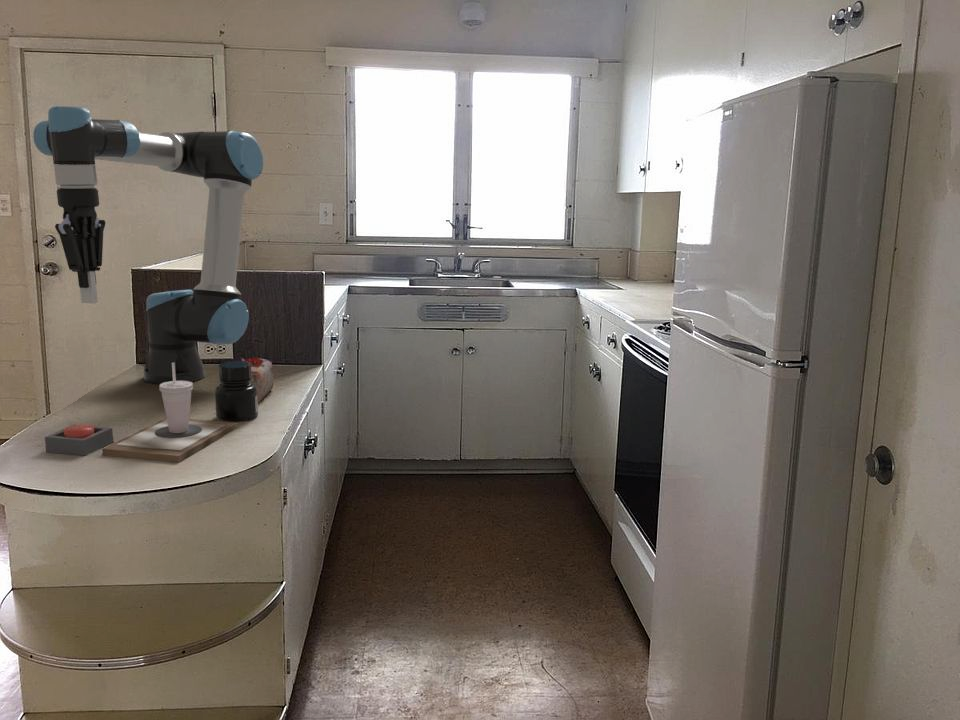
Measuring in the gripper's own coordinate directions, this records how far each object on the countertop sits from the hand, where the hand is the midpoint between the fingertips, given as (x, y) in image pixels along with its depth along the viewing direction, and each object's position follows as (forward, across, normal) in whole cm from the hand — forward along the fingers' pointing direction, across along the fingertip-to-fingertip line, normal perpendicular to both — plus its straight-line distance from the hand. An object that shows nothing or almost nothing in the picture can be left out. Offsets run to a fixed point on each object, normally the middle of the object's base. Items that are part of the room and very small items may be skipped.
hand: (89, 302), depth 166 cm
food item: (+27, -27, +22) cm, 44 cm away
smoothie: (+25, +7, +22) cm, 33 cm away
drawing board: (+26, +9, +22) cm, 35 cm away
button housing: (+25, +17, +6) cm, 31 cm away
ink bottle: (+27, -10, +26) cm, 39 cm away
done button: (+24, +17, +7) cm, 30 cm away
